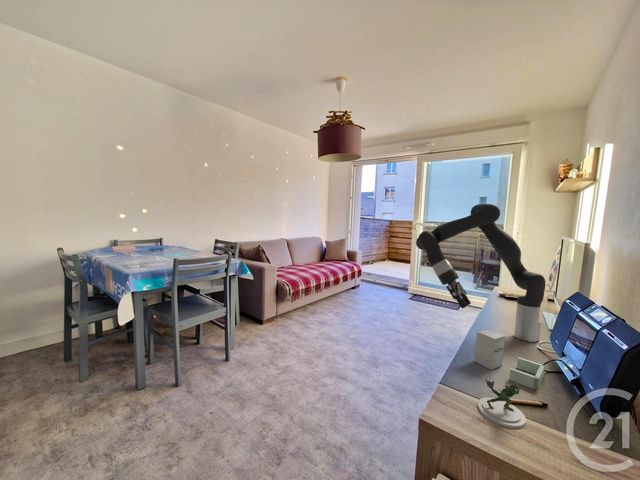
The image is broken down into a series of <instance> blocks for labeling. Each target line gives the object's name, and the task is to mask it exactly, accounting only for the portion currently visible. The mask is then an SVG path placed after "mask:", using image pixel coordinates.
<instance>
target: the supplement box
mask: <svg viewBox="0 0 640 480" xmlns="http://www.w3.org/2000/svg"><path fill="white" fill-rule="evenodd" d="M475 336H476V338H475V348H474V349H475V350H474V357H473V358H474V359H473V362H475V363H476V362H477V364H478V363H479V365H480V364H481V365H480V366H482V367H485V368H487V369H489V370H491V371H493V370H494V369H496V368H500V367H503V360H504V353H505V352H504V350H505V338H506V336H505V335H504V334H501V333H499V332H495V331H492V330H490V329H484V330H479V331H476V335H475Z"/></svg>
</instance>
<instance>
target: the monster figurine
mask: <svg viewBox="0 0 640 480" xmlns="http://www.w3.org/2000/svg"><path fill="white" fill-rule="evenodd" d="M485 382H486V385H487V387H488V388H489V389H490V390H491V391H492V392H493V394H495V395H496V396H497V397H482V398H480V399H479V400H478V402H477V409H478V411H479V412H480V413H481V415H483V416H484V417H485V418H486V419H487V420H489V421H491V422H493V423H494V424H497V425H499V426H502V427H506V428H510V429H520V428H524V427H525V425H526V423H527V418H526V415H525V414H524V413H523V412H522V410H520V409H519V408H518V407H516V406H515V405H513V401H512V400H511V398H512V397H514V396H516V395H519V394H520V389H521V387H520V388H519V387H518V386H517V384H513V383H512V384H510V385H507V384H504V387H502V388H501V387H500V389H502V390H500V389H498V391H499V392H498V391H497V390H496V389H495V388H494V386H495V381H494V379H493V380H492V381H490V380H488V379H487V378H485Z"/></svg>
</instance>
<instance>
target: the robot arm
mask: <svg viewBox="0 0 640 480" xmlns="http://www.w3.org/2000/svg"><path fill="white" fill-rule="evenodd" d="M500 216H501V210H500V208H499V207H498V205H495V204H493V203H479V204H475V205H473V206H472V208H471V209H470V215H467V216H465V217H461V218H458V219H454V220H451V221H447V222H446V223H443V224H442V225H441V224H440V225H439V226H437V227H435V228H434V229H433V230H432V231H427V230H425V231H422V232H421V233H420V234H419V235H418V237H417V238H416V240H415V245H416V248H418V250H422V251H425V252H426V259H427V261H428V262H429V265H431V267H432V270H433V271H434V273H435V275H436V276H437V278H438V280H439V282H440V283H441V285H443V286H445V288H446V289H447V290H448V292H449V294H450V295H451V297H452V299H453V300H455V301H456V302H457V304H458V305H459V307H460V308H461V309H464V308H467V306H469V305H471V301H470V299H469V298H468V296H467V291H466V290H465V289H464V287H463V286H462V284H461V283H460V281H457V280H458V279H460V278H459V277H460V276H459V274H458V273H457V272H456V269H454V267H453V265H452V264H451V262H449V260H448V259H447V258H446V256H445V254H444V253H443V251H442V249H441V247H440V243H441V242H444V241H446V240H449V239H451V238H454V237H456V236H458V235H460V234H462V233H464V232H467V231H469V230H473V229H476V228H479V229H480V231H481V232H482V233H483V235H485V237H486V239H487V241H488V242H489V243H490V245H491V246H492V247H493V249H494V251H495V252H496V254H497V256H498V257H500V259H501V260H502V262H503V264H504V265H505V267H506V268H507V270H508V272H509V274H510V275H511V278H512V279H513V281H514V283H515V285H516V286H517V287H518V288H520V289H522V290H525V291H526V292H525V295H524V296H523V295H522V296H519V297H517V301H516V311H515V313H516V314H515V323H514V334H513V336H514V338H516V339H518V340H520V339H521V340H520V341H523V340H524V342H529V343H535V342H536V343H537V342H540V337H541V329H542V327H541V326H542V322H541V321H540V315H541V305H542V302H543V301H544V297H545V292H546V279H545V277H544V275H542V274H540V273H537V272H534V271H533V272H531V271H529V270H527V268H526V267H525V266H524V264H523V263H522V261H521V260H522V259H521V258H522V251H521V248H520V246H519V244H517V241H516V240H515V239H514V238H513V236H511V235H510V234H509V233H507V232H506V231H505V230H504V229H502V228H501V227H500V226H498V225H497V223H496V221H498V220H499V218H500Z"/></svg>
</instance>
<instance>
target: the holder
mask: <svg viewBox="0 0 640 480" xmlns="http://www.w3.org/2000/svg"><path fill="white" fill-rule="evenodd" d="M545 367H546V365H544V364H541V363H538V362H535V361H533V360H532V361H531V360H528V359H525V358H522V357H520V356H518V357H517V363H516V369H515V368H512V367H511V368H509V377H508V379H509V380H510V381H512V382H515V383H517V384H520V385H523V386H525V387H528V388H531V389H532V390H533V389H534V390H536V391H538V390H539V388H540V386H541V384H542V381H543V378H544V376H545V371H546V370H545ZM518 369H519V370H518ZM523 371H525V372H523ZM527 372H528V373H527ZM530 373H531V374H530ZM532 374H534V375H532Z"/></svg>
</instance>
